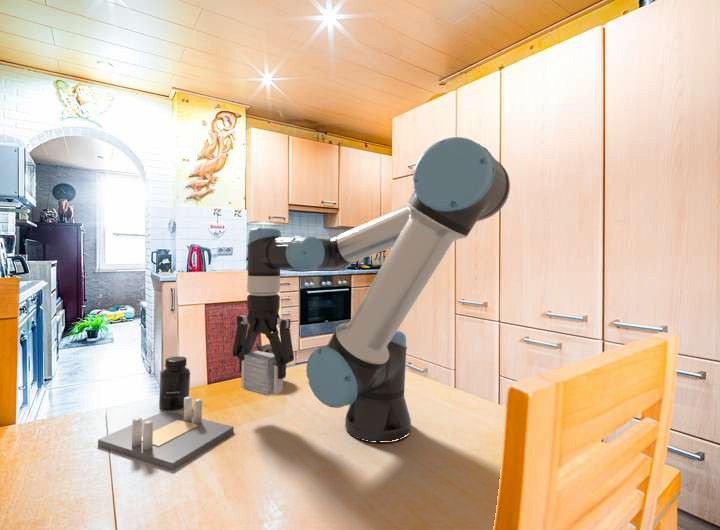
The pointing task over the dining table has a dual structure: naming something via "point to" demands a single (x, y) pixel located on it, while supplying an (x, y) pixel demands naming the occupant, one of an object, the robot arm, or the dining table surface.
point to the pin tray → (168, 436)
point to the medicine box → (259, 372)
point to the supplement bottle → (174, 384)
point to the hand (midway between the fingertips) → (262, 388)
